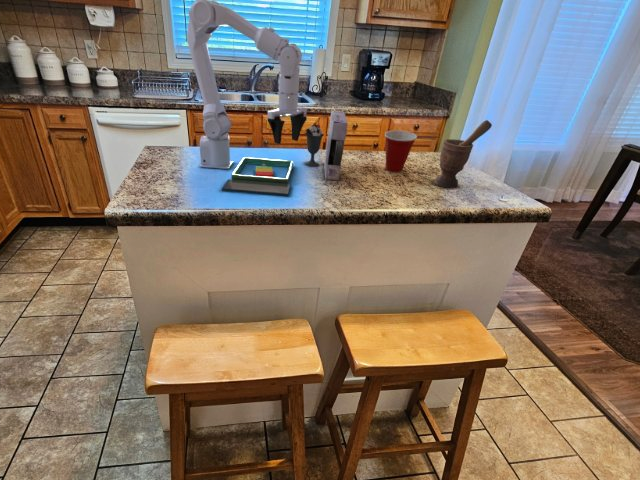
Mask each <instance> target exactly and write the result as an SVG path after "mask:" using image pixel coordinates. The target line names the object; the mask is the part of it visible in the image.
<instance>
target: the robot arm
mask: <svg viewBox="0 0 640 480" xmlns="http://www.w3.org/2000/svg"><path fill="white" fill-rule="evenodd" d="M187 13H188V25H187V32H186V41H187V45H188V49H189V53H190V57H191V60H192V64H193V68H194V72H195V76H196V80H197V84H198V88H199V92H200V95H201V101H202V103H203V110H202V118H203V125H202V129H203V132H204V134H205V135H206V136H201V137H200V139H199V156H200V157H199V158H200V166H199V167H200V168H209V169H221V170H229V169H230V168H231V167H232V165H233V164H234V161H233V160H231V154H230V153H231V151H230V150H231V149H230V148H231V147H230V146H231V145H230V135H229V131H230V130H231V128H232V120H231V119H230V117H229V116H228V115H229V114H228V113H227V112H226V109H225V108H226V107H225V106H224V105H223V103H222V102H221V97H220V93H219V90H218V85H217V82H216V76H215V72H214V68H213V64H212V60H211V56H210V51H209V47H208V42H209V40H210V38H211V37H212V35H213V33H214V32H215V31H217V30H218V29H220V28H221V26H222V27H229V28H232V29H234V30H235V31H237V32H238V33H240V34H242V35H243V36H245V37H247V38H248V39H250V40H252V41H253V42H254V44H255V48H256V50H258V51H260V52H261V53H263V54H264V55H266V57H267V56H268V57H269V58H271V59H272V60H274V61H275V62H278V64H279V66H280V67H279V69H280V70H279V80H278V81H279V82H278V108H275V109H270V110H267V122H268V124H269V127H270V129H271V132H272V136H273V142H274V144H277V145H280V144H281V142H282V136H283V135H282V134H283V128H284V125H285V120H283V119H282V118H288V117H289V118H290V124H291V140H292V141H295V142H298V141H299V139H300V135H301V132H302V130H303V129H302V128H303V127H304V125H305V123H306V121H307V119H308V117H307V111H308V110H307V109H308V108H307V107H303V106H302V107H298V106H299V105H298V103H299V88H300V64H301V62H302V59H303V53H302V50H301V49H300V47H299V46H298V45H297V44H296V43H290V39H289V38H288V37H285V38H283V37H282V36H280V34H277V32H275V28H273V27H271V26H270V27H269V28H268V27H267V26H264V27H262V28H259V27H257V26H256V25H254V24H253V23H252V22H250V21H249V20H247V19H246V18H244V17H243V16H242V15H241V14H239V13H237V12H236V11H235V10H233V9H232V8H229V7H228V6H226V5H223V4H220V3H219V2H218V1H215V0H195V1H194V2H193V3H192V5H191V6H190V8H189V10H188V12H187Z"/></svg>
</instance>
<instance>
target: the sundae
mask: <svg viewBox="0 0 640 480" xmlns="http://www.w3.org/2000/svg"><path fill="white" fill-rule="evenodd" d="M320 119H321V117H318V118H317V120H320ZM317 123H318V121H316V122H314V123H313V124H312V125H311V126H310V127H309V128H307V129H305V132H304V135H305V136H306V149H307V151H308V153H309V154H310V160H309V161H306V162H304V164H305V165H306V166H309V167H318V166H320V164H319V162H316V161H315V155H316V154H317V153H318V152H319V151H320V147H321V143H322V139H323V137H324V136H325V134H324V133H323V131H322V129H321V125H320V124H317Z"/></svg>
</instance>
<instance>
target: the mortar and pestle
mask: <svg viewBox="0 0 640 480" xmlns="http://www.w3.org/2000/svg"><path fill="white" fill-rule="evenodd" d="M492 126H493V124H492V123H491V122H490V121H489V120H488V119H486V120H483V121H482V122H481V123H480V124H479V125H478V126H477V127H476V129H475V130H473V132H472V133H471V134H470V135H469V136H468V137H467V138H466V139H465V140H463V139H457V138H455V139H454V138H445V139H444V140H443V144H442V147H441V151H440V155H439V167H440V170H441V174H439V175H437V176H436V177H435V178H434V181H433V183H434V184H435V185H437V186H439V187H443V188H448V189H449V188H457V187H458V186H459V179H457V175H458V173H460V172H462V171H463V169H464V167H465V166H466V164H467V162H468V161H469V159H470V156H471V153H472V151H473V147H474V144H473V143H474V142H476V141H477V140H478V139H479V138H480V137H482V136H483V135H485V134H486V133H487V132H489V130H490V129H491V128H492Z"/></svg>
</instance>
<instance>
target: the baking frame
mask: <svg viewBox="0 0 640 480" xmlns="http://www.w3.org/2000/svg"><path fill="white" fill-rule="evenodd" d="M262 164H265V166H268V167H282V168H283V167H284V168H288V171H287V174H286V177H285V178H284V177H274V176H273V177H262V176H256V175H250V174H249V175H247V174H240V172H241V171H242V169H243V167H245V165H256V166H257V165H258V166H262ZM293 168H294V160H284V159H271V158H261V157H259V158H258V157H245V156H243V157H242V159H241V160H240V162H239V163H238V165H237V166H236V168H235V169H234V171H233V172H232V173H231V180H240V181H252V182H265V183H277V184H289V182H290V179H291V175H292V172H293Z"/></svg>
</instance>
